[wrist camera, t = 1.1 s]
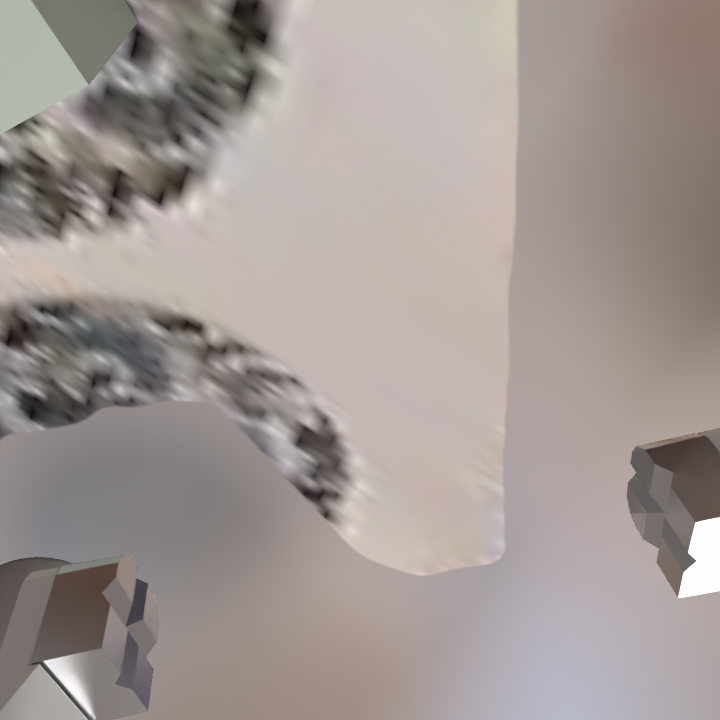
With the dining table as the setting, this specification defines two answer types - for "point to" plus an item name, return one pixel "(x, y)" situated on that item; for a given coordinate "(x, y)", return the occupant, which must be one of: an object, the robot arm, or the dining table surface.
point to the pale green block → (54, 50)
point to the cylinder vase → (18, 584)
